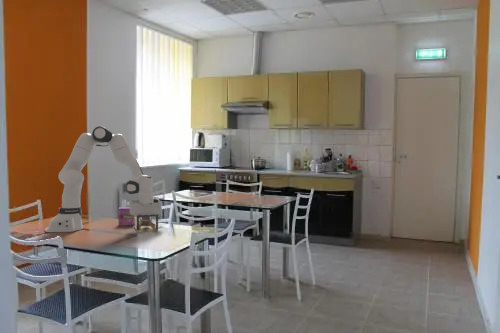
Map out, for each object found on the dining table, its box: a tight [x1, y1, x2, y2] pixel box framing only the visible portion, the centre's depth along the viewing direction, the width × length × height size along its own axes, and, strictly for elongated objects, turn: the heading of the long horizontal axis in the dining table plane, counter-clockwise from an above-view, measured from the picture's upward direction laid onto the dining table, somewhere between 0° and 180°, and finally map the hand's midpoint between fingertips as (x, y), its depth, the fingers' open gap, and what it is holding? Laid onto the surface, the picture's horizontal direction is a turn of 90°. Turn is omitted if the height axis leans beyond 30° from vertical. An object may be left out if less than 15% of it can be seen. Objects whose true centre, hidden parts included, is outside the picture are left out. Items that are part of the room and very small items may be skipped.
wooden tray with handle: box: [133, 214, 159, 233], centre depth 283 cm, size 13×16×11 cm
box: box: [117, 206, 136, 226], centre depth 298 cm, size 10×6×12 cm, turn 97°
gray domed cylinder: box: [141, 217, 151, 225], centre depth 283 cm, size 5×5×6 cm
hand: (145, 221), depth 283 cm, fingers closed on gray domed cylinder, 5 cm apart
